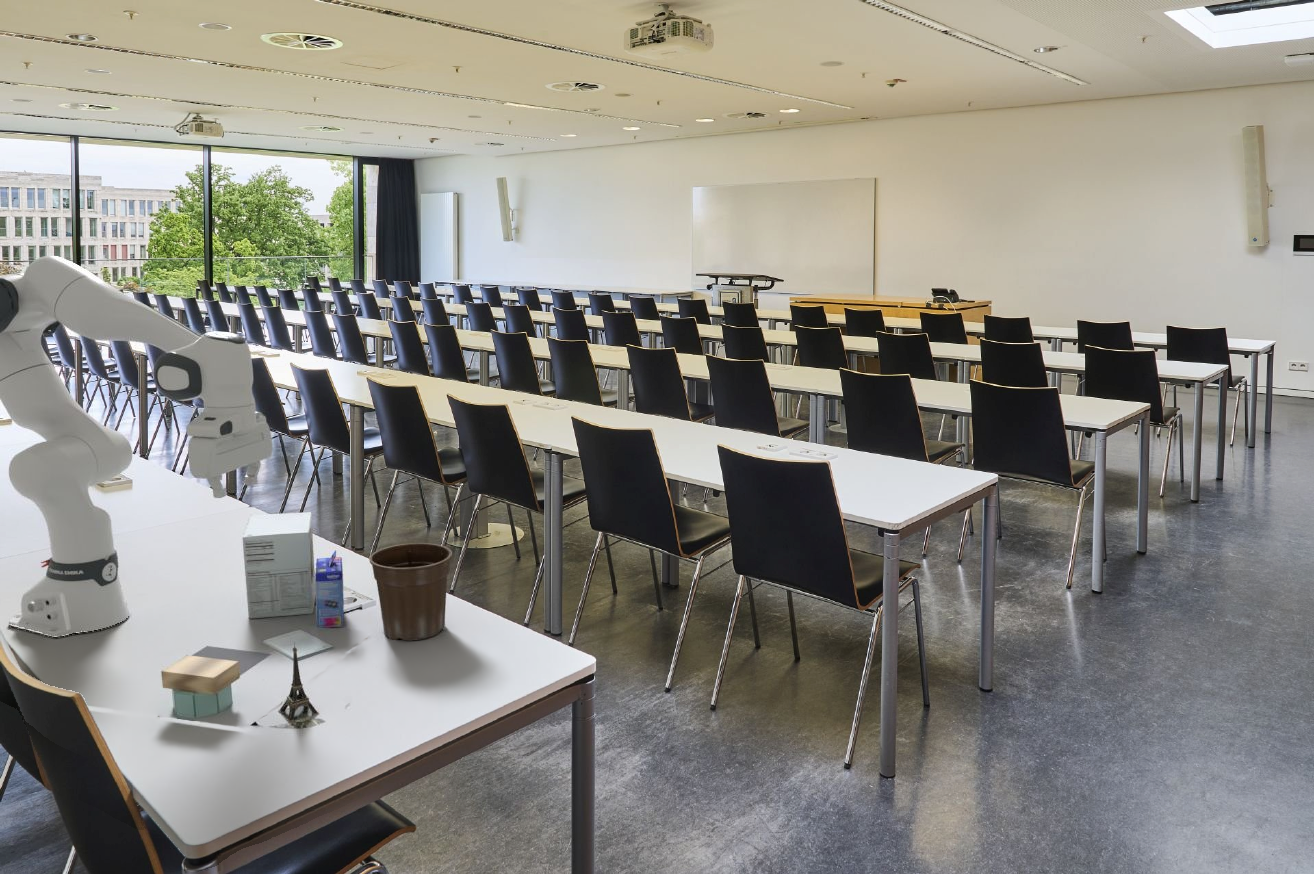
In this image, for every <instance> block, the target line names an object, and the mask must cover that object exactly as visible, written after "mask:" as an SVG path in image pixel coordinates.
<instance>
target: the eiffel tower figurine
mask: <svg viewBox="0 0 1314 874" xmlns="http://www.w3.org/2000/svg"><path fill="white" fill-rule="evenodd" d="M293 655H294V656H293V660H292V662H293V668H292V671H293V673H292V683H291V684H290V685H291V687H290V692H289V694H288V695H286V700H285V701H284V703H283V704H282V705H281V707H280V708H279V710H278V711H277V712H278V713H279V714H280V715H281V717H283V719H285V721H286V723H285V722H284V723H281V724H278V725H273V726H272V725H271V726H270V728H279V729H280V728H281V729H290V730H302V729H310V728H314V727H316V726H319V725H320V724H324V723H326V720H325V719H322V718H310V717H313V716H316V715H320V713H319V711H317V710H316V707H315V706H314V705H313V704H312V703H311V702H310V697H309V696H308V695H307V694H306V693H305V690H304V688H303V686H304V684H303V683H302V681H301V675H300V669H299V668H300V667H299V660H297V649H296V648H295V642H294V648H293ZM348 704H349V703H347V704H346V705H345V708H344V709H345V710H346V709H347V708H348V707H347V705H348ZM348 706H349V705H348ZM346 707H347V708H346ZM250 726H255V727H264V725H260V724H258V723H257V722H256V721H254V722H252V723H251V724H250Z"/></svg>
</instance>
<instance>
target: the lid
mask: <svg viewBox="0 0 1314 874" xmlns="http://www.w3.org/2000/svg"><path fill="white" fill-rule="evenodd" d="M160 673H161V683H162V685H161V686H162V688H163V689H170V690H172V689H176V690H184V691H191V692H199V693H206V694H214V695H216V694H217V693H218V692H220V691H221V690H223V689H224V688H226V687H227V686H229V685H230V684H231V685H232V684H233V683H234V682H236V681H237V680H239V679H240V678H241V677H240V676H241V675H240V674H239V662H238V661H230V660H222V659H214V658H206V657H198V656H191V655H186V656H184V657H182V658H181V659H179V660H177V661H175V662H174V663H172V664H171V665H169V666H167V667H165V668H164V669H162V670H161V671H160Z"/></svg>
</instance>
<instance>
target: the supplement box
mask: <svg viewBox="0 0 1314 874" xmlns="http://www.w3.org/2000/svg"><path fill="white" fill-rule="evenodd" d="M242 535H243V536H242V547H243V550H242V551H243V559H244V563H243V564H244V574H245V575H244V576H245V587H246V588H245V589H246V602H247V614H248V619H249V620H251V619H263V618H272V617H273V618H274V617H275V618H276V617H286V616H298V615H299V616H300V615H311V614H313V612H314V606H315V603H316V580H315V573H316V568H315V556H314V554H315V553H314V540H313V539H314V538H313V513H312V512H311V511H308V512H307V511H306V512H289V513H288V512H287V513H269V514H267V513H266V514H254V515H253V514H251V515H250V516H249V518H248V520H247V523H246V525H245V528H244V532H243V534H242Z"/></svg>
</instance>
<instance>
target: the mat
mask: <svg viewBox="0 0 1314 874" xmlns="http://www.w3.org/2000/svg"><path fill="white" fill-rule="evenodd" d="M271 655H272V653H268V652H258V651H251V650H245V649H243V650H242V649H241V650H240V649H234V648H227V647H218V646H211V645H210V646H209V645H206V646H205V647H203V648H201V649H199V650H198V651H197V652H195V653H194V654H191V655H190V656H198V657H206V658H214V659H222V660H230V661H238V662H239V674H240V676H242V675H243V674H244V673H246V672H248V671H249V670H250V669H252V668H254V666H256V665H257V664H259V663H260V662H262V661H264V660H265V659H267V658H268V657H269V656H271Z"/></svg>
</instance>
